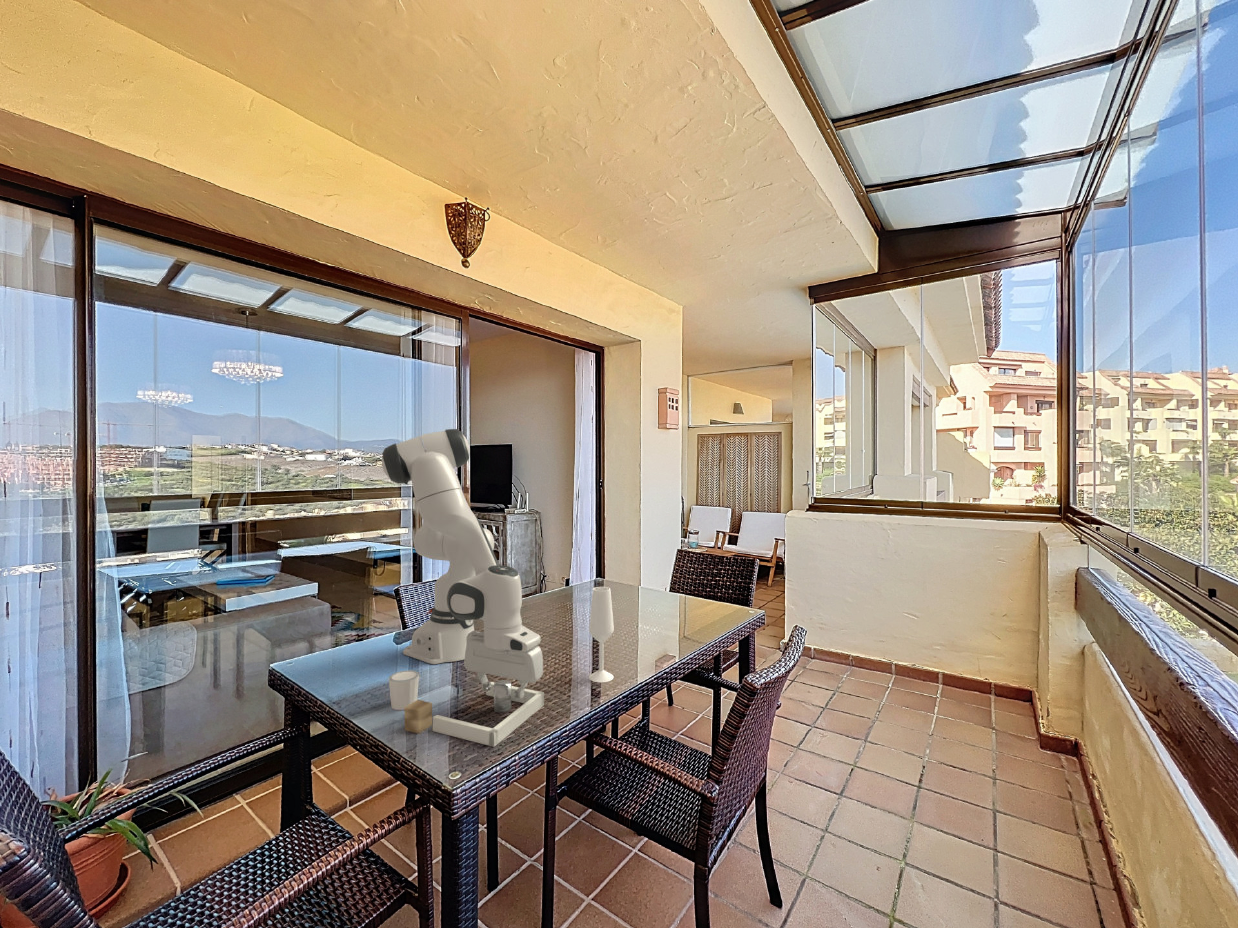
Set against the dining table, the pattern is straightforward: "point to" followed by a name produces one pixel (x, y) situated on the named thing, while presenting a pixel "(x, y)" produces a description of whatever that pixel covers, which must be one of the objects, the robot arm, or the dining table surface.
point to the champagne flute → (601, 627)
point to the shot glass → (403, 688)
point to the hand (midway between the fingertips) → (502, 693)
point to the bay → (499, 732)
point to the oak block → (418, 716)
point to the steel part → (502, 696)
